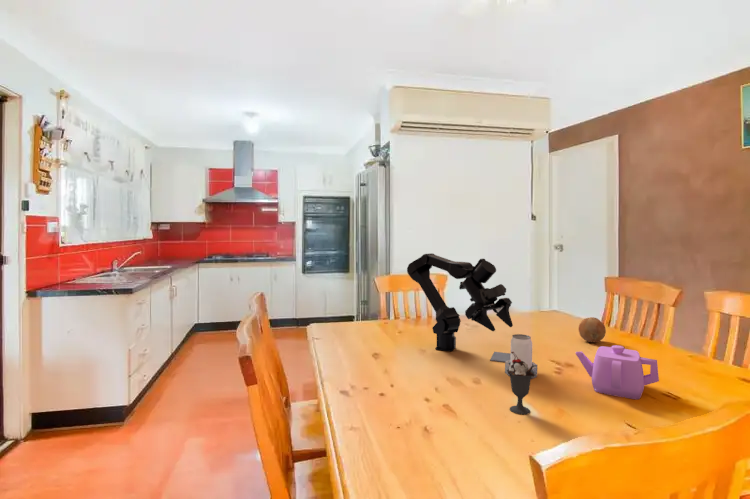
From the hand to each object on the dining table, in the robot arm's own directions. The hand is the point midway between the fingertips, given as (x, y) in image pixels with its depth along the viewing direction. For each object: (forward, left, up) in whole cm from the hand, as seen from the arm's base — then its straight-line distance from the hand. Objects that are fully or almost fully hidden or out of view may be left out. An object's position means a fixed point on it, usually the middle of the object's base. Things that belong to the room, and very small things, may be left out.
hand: (503, 328), depth 137 cm
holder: (+6, -3, -13) cm, 15 cm away
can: (+6, -3, -13) cm, 15 cm away
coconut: (+29, +46, -13) cm, 56 cm away
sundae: (+8, -31, -13) cm, 35 cm away
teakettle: (+32, -4, -13) cm, 35 cm away
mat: (0, +11, -13) cm, 17 cm away
